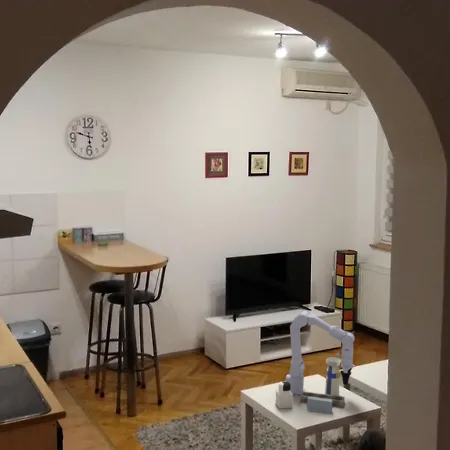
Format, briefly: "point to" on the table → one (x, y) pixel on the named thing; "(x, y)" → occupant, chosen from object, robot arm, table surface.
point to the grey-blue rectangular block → (319, 404)
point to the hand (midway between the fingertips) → (346, 381)
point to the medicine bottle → (284, 395)
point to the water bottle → (333, 375)
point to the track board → (336, 400)
